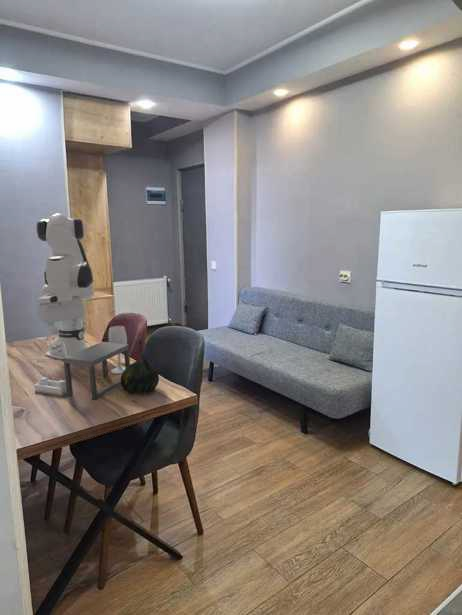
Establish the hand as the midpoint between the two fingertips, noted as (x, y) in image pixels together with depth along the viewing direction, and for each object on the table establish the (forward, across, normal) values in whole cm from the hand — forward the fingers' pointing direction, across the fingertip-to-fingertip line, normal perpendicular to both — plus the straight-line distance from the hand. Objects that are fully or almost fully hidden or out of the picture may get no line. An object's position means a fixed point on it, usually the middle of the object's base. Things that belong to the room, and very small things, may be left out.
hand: (64, 331), depth 167 cm
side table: (+26, -12, +4) cm, 29 cm away
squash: (+28, -16, +23) cm, 39 cm away
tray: (+25, 0, -10) cm, 27 cm away
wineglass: (+24, -30, -2) cm, 38 cm away
